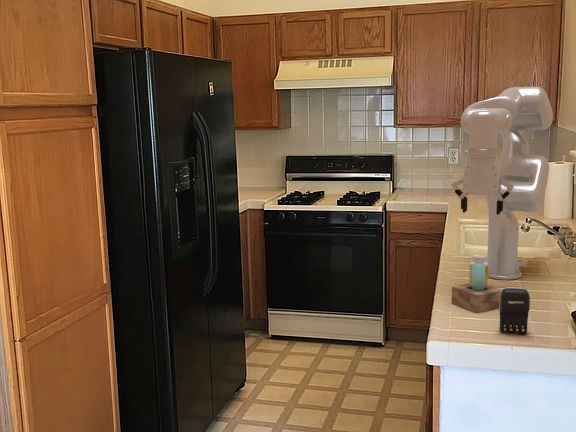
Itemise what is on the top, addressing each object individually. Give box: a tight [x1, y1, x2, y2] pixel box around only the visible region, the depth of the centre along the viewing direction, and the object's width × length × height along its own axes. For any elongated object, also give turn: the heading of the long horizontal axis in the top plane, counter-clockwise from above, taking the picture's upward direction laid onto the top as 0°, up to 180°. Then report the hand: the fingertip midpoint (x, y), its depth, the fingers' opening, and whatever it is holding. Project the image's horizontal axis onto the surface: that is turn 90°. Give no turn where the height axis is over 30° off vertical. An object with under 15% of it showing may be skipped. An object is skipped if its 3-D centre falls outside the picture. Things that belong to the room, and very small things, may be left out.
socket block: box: [451, 283, 503, 314], centre depth 179 cm, size 10×10×5 cm
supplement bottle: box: [468, 254, 489, 285], centre depth 196 cm, size 6×6×10 cm
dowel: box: [472, 263, 485, 292], centre depth 179 cm, size 3×3×12 cm
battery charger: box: [498, 286, 531, 335], centre depth 157 cm, size 7×4×11 cm, turn 78°
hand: (481, 212), depth 185 cm, fingers open, 9 cm apart
